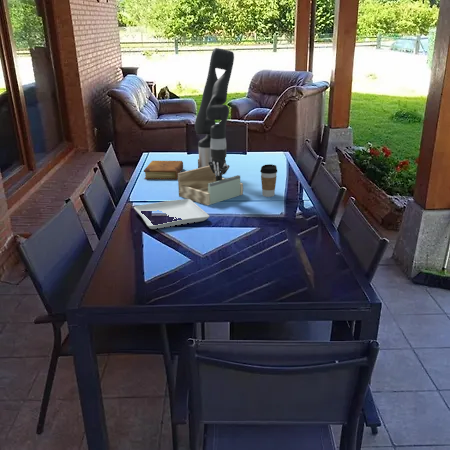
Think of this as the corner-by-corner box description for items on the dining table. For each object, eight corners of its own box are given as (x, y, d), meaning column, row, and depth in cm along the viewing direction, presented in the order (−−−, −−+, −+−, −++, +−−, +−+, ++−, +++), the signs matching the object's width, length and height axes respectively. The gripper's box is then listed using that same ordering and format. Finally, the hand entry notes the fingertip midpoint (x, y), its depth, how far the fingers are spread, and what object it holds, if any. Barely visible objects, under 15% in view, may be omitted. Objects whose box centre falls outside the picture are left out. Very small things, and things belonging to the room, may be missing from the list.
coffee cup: (279, 194, 251) (279, 165, 246) (273, 198, 244) (274, 169, 239) (263, 192, 255) (263, 163, 249) (257, 196, 248) (257, 167, 242)
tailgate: (208, 203, 238) (207, 183, 234) (238, 194, 251) (238, 175, 247) (210, 204, 237) (210, 184, 233) (240, 195, 250) (240, 175, 246)
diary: (177, 180, 280) (176, 170, 278) (144, 180, 281) (143, 170, 279) (183, 169, 301) (182, 160, 299) (152, 169, 303) (152, 160, 301)
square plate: (133, 213, 228) (132, 205, 227) (189, 205, 238) (189, 197, 237) (148, 233, 205) (148, 224, 204) (210, 223, 215) (210, 215, 213)
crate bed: (178, 196, 250) (177, 173, 246) (214, 186, 266) (213, 164, 261) (207, 206, 236) (206, 181, 231) (242, 194, 251) (242, 171, 247)
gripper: (203, 146, 239) (204, 181, 245) (222, 150, 230) (222, 186, 236) (214, 144, 244) (215, 178, 250) (233, 148, 235) (234, 183, 241)
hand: (219, 182), depth 243 cm, fingers closed
